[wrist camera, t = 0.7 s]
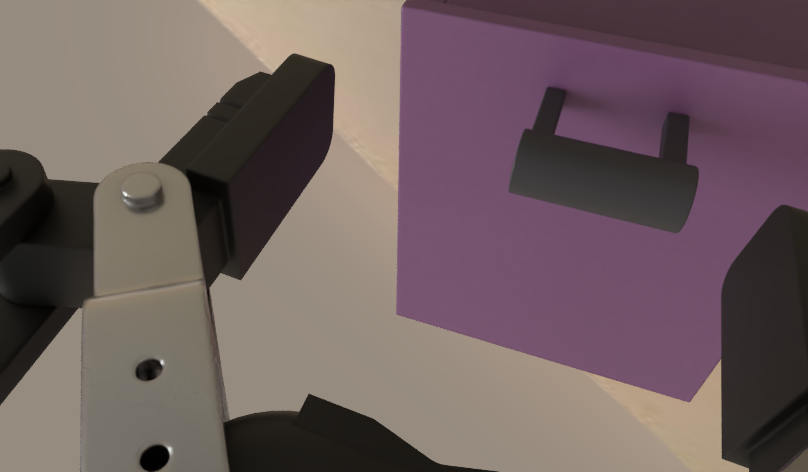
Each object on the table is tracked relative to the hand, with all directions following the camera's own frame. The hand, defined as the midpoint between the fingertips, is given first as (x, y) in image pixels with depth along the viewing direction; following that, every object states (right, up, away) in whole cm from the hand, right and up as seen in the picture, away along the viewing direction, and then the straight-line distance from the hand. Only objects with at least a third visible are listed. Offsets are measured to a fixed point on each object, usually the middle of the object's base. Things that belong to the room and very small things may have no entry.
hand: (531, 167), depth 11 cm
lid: (+5, -1, +15) cm, 16 cm away
